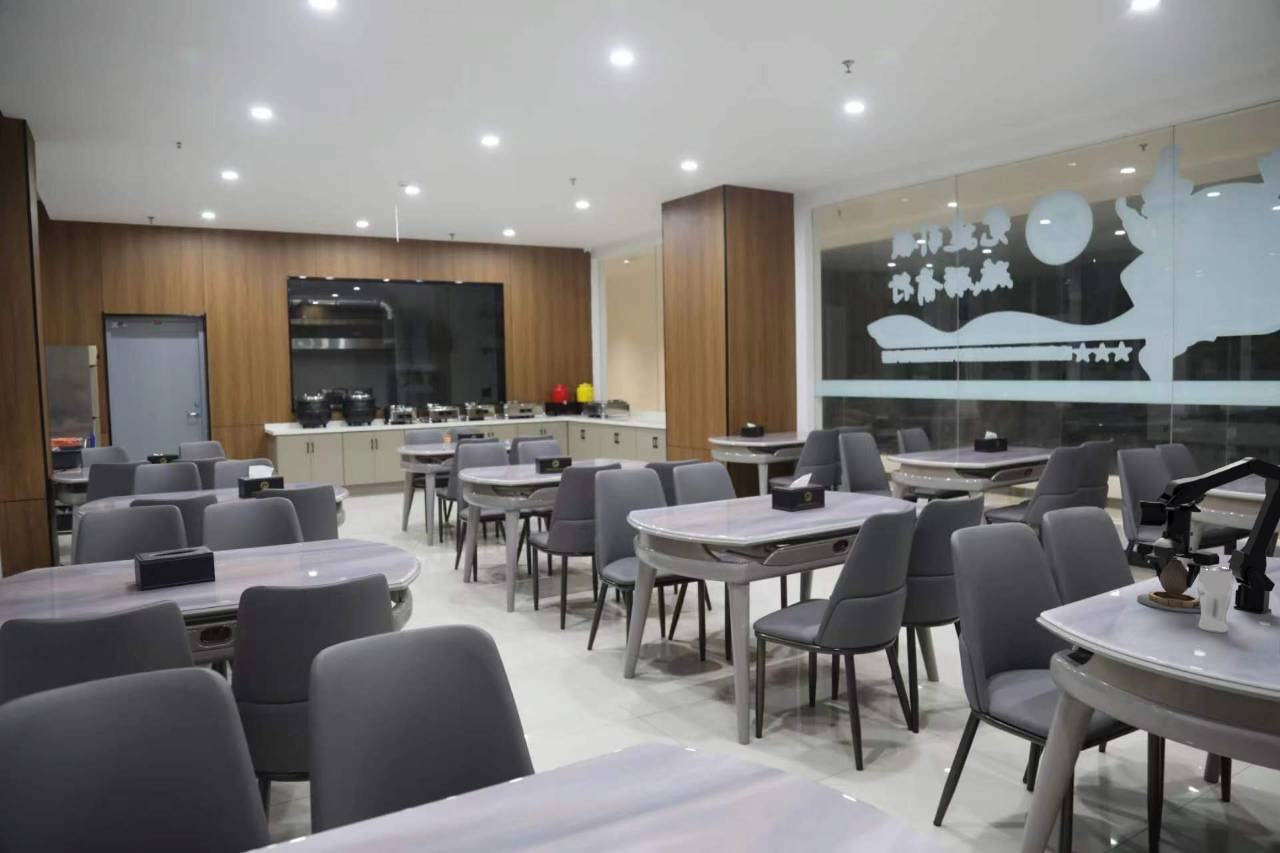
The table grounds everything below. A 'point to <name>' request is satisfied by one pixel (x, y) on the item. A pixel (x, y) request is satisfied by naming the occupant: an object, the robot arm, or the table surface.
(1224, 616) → the beer glass
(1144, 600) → the wooden ring on tray
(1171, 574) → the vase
